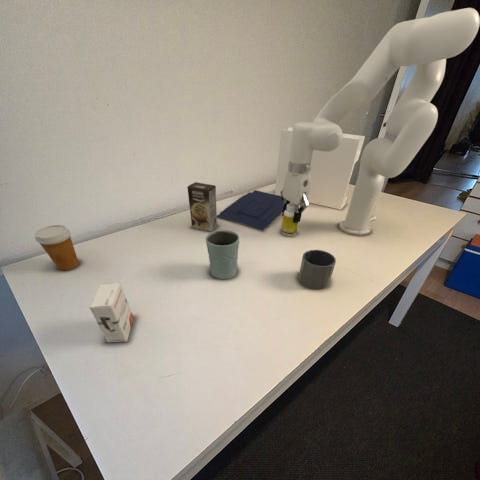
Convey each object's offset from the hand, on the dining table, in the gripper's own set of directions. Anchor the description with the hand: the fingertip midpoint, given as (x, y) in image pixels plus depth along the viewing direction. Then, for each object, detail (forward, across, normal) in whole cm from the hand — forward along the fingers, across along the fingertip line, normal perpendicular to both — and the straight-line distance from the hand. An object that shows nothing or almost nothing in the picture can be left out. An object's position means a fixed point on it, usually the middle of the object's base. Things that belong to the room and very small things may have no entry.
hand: (290, 218), depth 102 cm
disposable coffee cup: (+6, +16, +80) cm, 82 cm away
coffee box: (+6, +21, +28) cm, 36 cm away
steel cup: (+6, -30, +13) cm, 33 cm away
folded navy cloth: (+6, +23, +1) cm, 24 cm away
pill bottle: (+6, 0, 0) cm, 6 cm away
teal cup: (+6, -12, +36) cm, 38 cm away
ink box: (+6, -23, +71) cm, 75 cm away
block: (+6, +25, -32) cm, 41 cm away
